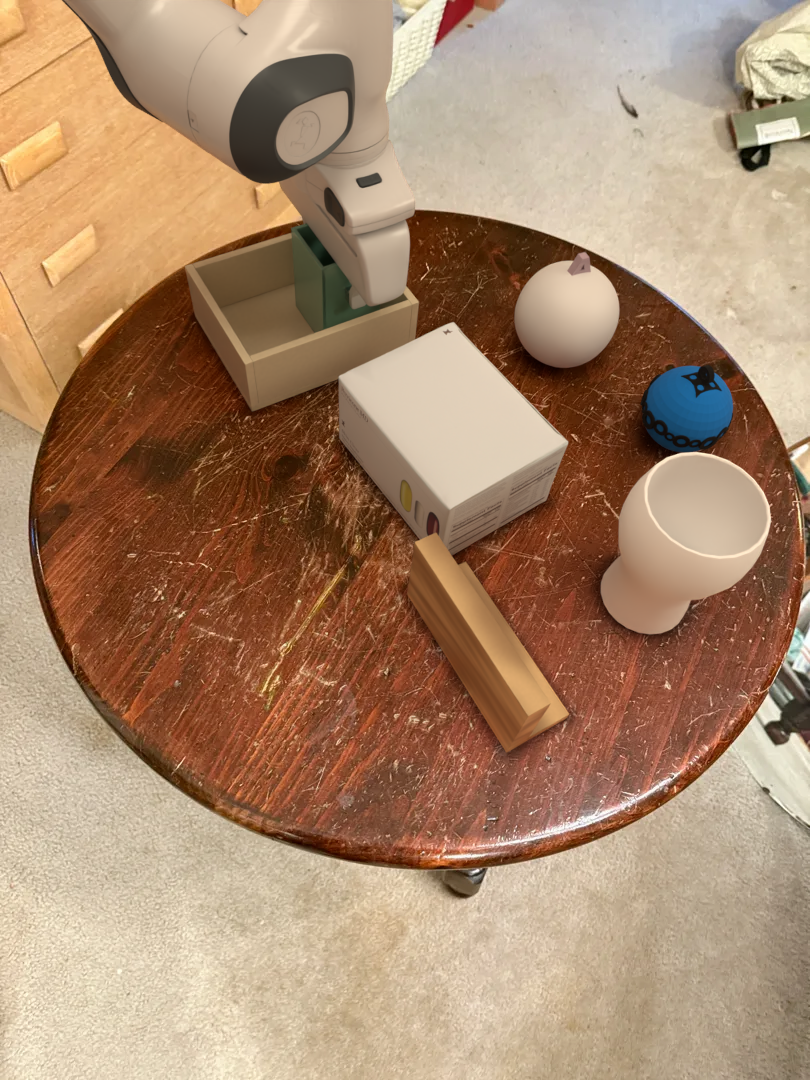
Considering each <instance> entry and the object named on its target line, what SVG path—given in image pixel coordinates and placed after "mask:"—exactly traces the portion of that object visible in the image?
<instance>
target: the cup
mask: <svg viewBox="0 0 810 1080" xmlns="http://www.w3.org/2000/svg"><path fill="white" fill-rule="evenodd" d="M771 523H772V517H771V508H770V504H769V502H768V499H767V496H766V494H765V492H764V490H763V489H762V488H761V486H760V485H759V483H758V482H757V481H756V479H754V478H753V477H752V476H751V475H750V474H749V473H748V472H747V471H746V470H745V469H743V468H742V467H740V466H739V465H737V464H735V463H733V462H732V461H731V460H729V459H726V458H723V457H720V456H718V455H715V454H712V453H705V452H699V451H695V452H688V453H683V452H678V453H677V454H673V455H670V456H666V457H665V458H663V459H662V460H660V461H659V462H658V463H655V464H654V466H652V467H651V468H650V469H649V470H648V471H647V472H645V474H643V475H642V476H641V477H639V479H638V480H637V481H636V483H635V484H634V485H633V487H632V488H631V489H630V491H629V492H628V494H627V496H626V498H625V500H624V502H623V504H622V507H621V510H620V513H619V516H618V536H617V537H618V542H617V543H618V544H617V545H618V550H619V553H620V555H619V556H618V557H616V559H615V560H613V562H612V563H611V564H610V566H608V568H607V569H606V570H605V572H604V573H603V575H602V579H601V581H600V595H601V599H602V601H603V602H602V603H603V605H604V606H605V608H606V610H607V612H608V614H610V616H611V617H612V618H613V619H614V620H615V621H616V622H617V623H619V624H620V625H622V626H623V627H625V628H626V629H628V630H631V631H632V632H633V631H634V632H636V633H638V634H644V635H660V634H663V633H666V632H669V631H671V630H673V629H674V628H675V627H677V626H678V625H679V624H680V622H681V620H682V619H683V618H684V616H685V614H686V613H687V611H688V609H689V606H690V604H691V602H692V601H699V600H703V599H706V598H708V597H711V596H714V595H717V594H719V593H722V592H723V591H727V590H728V589H730V588H732V587H733V586H734V585H735V584H737V583H738V582H740V581H741V580H742V579H743V578H744V577H745V576H746V574H748V573H749V571H750V570H751V569H752V568H753V567H754V566H755V564H756V563H757V560H758V559H759V557H760V556H761V555H762V553H763V552H762V551H763V549H764V546H765V544H766V541H767V538H768V536H769V532H770V528H771Z"/></svg>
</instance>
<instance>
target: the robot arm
mask: <svg viewBox="0 0 810 1080" xmlns="http://www.w3.org/2000/svg"><path fill="white" fill-rule="evenodd" d="M61 1H62V3H64V5H66V7H67V8H69V9H70V10H71V12H73V14H75V15H76V17H77V18H78V19H79V20H80V21H81V22H82V24H83V25H84V26H85V28H86V29H87V30H88V32H89V33H90V35H91V37H92V39H93V41H94V43H95V45H96V47H97V49H98V51H99V53H100V56H101V58H102V59H103V60H102V61H103V62H104V65H105V67H106V70H107V72H108V74H109V76H110V79H111V80H112V82H113V84H114V85H115V87H116V90H118V92H119V93H120V94H121V96H122V97H123V98H124V99H125V100H126V101H127V102H128V103H129V104H130V105H132V106H133V107H135V108H136V109H137V110H139V111H141V112H143V113H144V114H147V115H149V116H150V117H152V118H153V119H156V120H158V121H159V122H161V123H164V124H165V125H167V126H168V127H169V128H171V129H172V130H174V131H175V132H177V133H178V134H179V135H181V136H182V137H184V138H185V139H187V140H188V141H190V142H191V143H193V144H195V145H196V146H197V147H199V148H200V149H202V150H203V151H205V152H206V153H207V154H209V155H211V156H212V157H214V159H216V160H218V161H220V162H221V163H222V164H224V165H226V166H227V167H229V168H230V169H232V170H233V171H235V172H236V173H238V174H239V175H241V176H243V177H245V178H246V179H248V180H249V181H251V182H254V183H257V184H264V185H269V184H270V185H271V184H275V183H278V184H279V187H280V189H281V191H282V192H283V193H284V195H285V196H286V198H287V199H288V200H289V202H290V203H291V204H292V206H293V207H294V208H295V210H296V211H297V212H298V214H299V215H300V216H301V220H302V224H306V223H307V224H308V226H309V227H310V228H311V230H312V231H313V232H314V234H315V235H316V237H317V238H318V239H319V241H320V242H321V243H322V245H323V246H324V247H325V249H326V250H327V251H328V253H329V254H330V255H331V257H332V258H333V260H334V261H335V262H336V264H337V265H338V266H339V268H340V269H341V270H342V272H343V273H344V274H345V276H346V277H347V278H348V280H349V282H350V283H351V284H352V286H349V287H346V288H345V299H346V301H347V302H348V303H349V305H350V306H351V308H352V309H357V308H360V307H363V306H365V305H366V304H367V305H368V306H376V305H379V304H383V303H386V302H389V301H391V300H394V299H396V298H398V297H399V296H400V295H402V294H403V292H404V291H405V287H406V286H407V282H408V275H409V265H410V252H411V251H410V250H411V237H410V235H411V234H410V230H409V226H408V222H407V220H408V219H409V218H412V217H414V215H415V212H416V198H415V195H414V192H413V190H412V188H411V186H410V185H409V183H408V181H407V179H406V176H405V174H404V173H403V171H402V168H401V165H400V163H399V162H398V158H397V155H396V152H395V148H394V144H393V143H392V141H391V140H390V139H389V137H390V114H389V110H388V106H387V98H386V97H387V91H388V88H389V85H390V82H391V78H392V73H393V61H394V60H393V59H394V7H393V4H394V3H393V0H261V2H260V3H259V4H258V6H257V7H256V8H255V9H254V10H253V11H252V12H251V13H250V14H249V15H248V16H247V15H246V14H244V13H242V12H240V11H239V10H238V9H235V8H234V7H232V6H230V5H228V4H227V3H225V2H224V1H222V0H61Z"/></svg>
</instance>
